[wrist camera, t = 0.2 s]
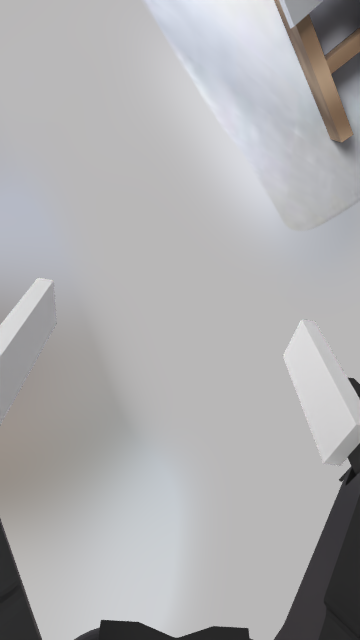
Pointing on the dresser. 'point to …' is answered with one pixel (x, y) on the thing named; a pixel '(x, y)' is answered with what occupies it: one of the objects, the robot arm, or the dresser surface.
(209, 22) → the dresser surface
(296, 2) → the bar
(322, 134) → the dresser surface
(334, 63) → the dock
